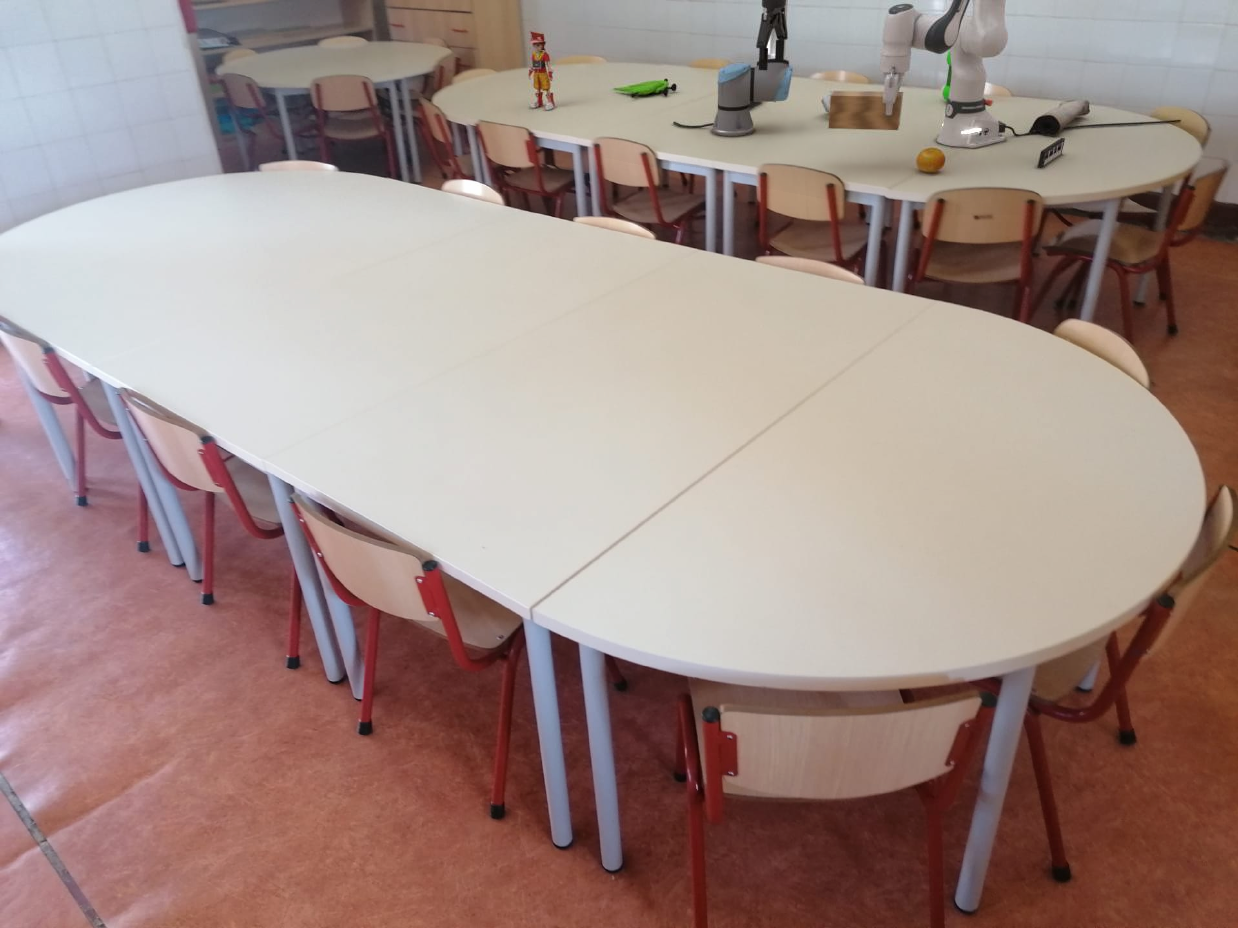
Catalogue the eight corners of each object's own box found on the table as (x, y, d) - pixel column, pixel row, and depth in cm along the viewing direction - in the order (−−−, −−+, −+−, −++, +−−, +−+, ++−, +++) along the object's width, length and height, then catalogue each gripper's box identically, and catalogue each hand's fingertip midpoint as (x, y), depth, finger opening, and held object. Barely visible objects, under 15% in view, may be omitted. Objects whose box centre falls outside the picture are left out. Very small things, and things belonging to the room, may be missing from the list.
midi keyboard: (1041, 167, 283) (1045, 151, 280) (1037, 167, 283) (1040, 151, 280) (1062, 154, 293) (1065, 138, 290) (1057, 153, 294) (1061, 137, 291)
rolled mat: (1057, 104, 331) (1081, 87, 323) (1070, 125, 332) (1095, 108, 324) (1024, 126, 314) (1049, 109, 306) (1039, 148, 314) (1064, 131, 306)
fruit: (910, 163, 282) (927, 140, 279) (912, 165, 290) (928, 143, 287) (933, 178, 281) (950, 155, 278) (933, 180, 289) (950, 157, 286)
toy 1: (525, 109, 381) (517, 32, 364) (534, 104, 388) (527, 28, 371) (550, 110, 377) (543, 32, 360) (559, 105, 384) (553, 28, 367)
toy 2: (686, 85, 398) (631, 84, 414) (685, 72, 395) (629, 72, 411) (651, 104, 381) (596, 103, 397) (650, 92, 378) (594, 91, 394)
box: (828, 128, 287) (830, 95, 282) (831, 123, 292) (833, 91, 286) (897, 130, 281) (901, 96, 275) (899, 125, 285) (903, 92, 280)
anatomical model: (816, 90, 346) (842, 83, 346) (819, 117, 352) (844, 110, 352) (827, 99, 334) (853, 92, 333) (830, 127, 340) (856, 120, 339)
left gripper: (769, -1, 270) (767, 74, 282) (800, -13, 287) (796, 58, 300) (747, -1, 274) (745, 73, 286) (778, -13, 291) (775, 57, 303)
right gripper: (902, 72, 265) (897, 120, 272) (908, 57, 280) (903, 103, 288) (880, 72, 266) (876, 120, 274) (887, 57, 282) (882, 103, 290)
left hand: (771, 66), depth 293 cm, fingers open, 13 cm apart
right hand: (889, 111), depth 281 cm, fingers closed on box, 6 cm apart
